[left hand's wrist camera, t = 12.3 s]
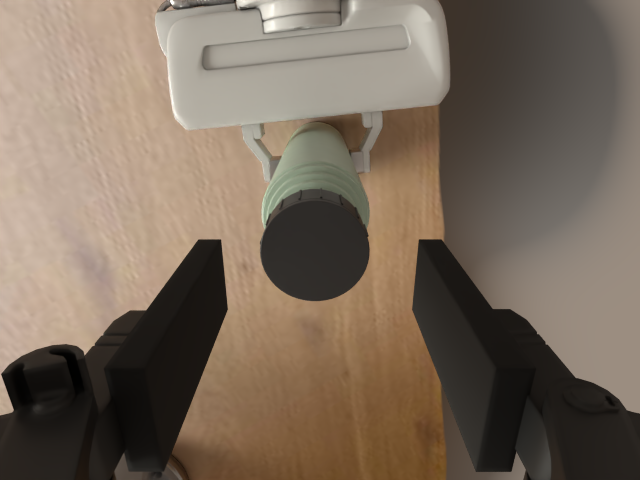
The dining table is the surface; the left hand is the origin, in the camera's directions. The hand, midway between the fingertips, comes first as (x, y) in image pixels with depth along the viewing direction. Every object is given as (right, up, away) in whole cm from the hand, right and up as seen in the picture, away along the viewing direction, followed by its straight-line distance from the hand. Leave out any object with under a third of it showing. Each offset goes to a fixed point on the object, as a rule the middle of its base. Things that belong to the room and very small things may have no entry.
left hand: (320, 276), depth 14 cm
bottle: (0, +9, +24) cm, 26 cm away
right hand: (0, +6, +19) cm, 20 cm away
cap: (0, +1, +3) cm, 3 cm away
